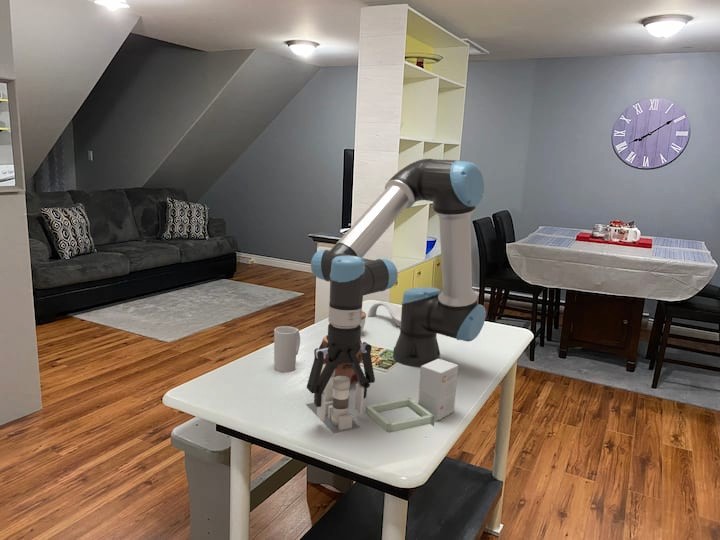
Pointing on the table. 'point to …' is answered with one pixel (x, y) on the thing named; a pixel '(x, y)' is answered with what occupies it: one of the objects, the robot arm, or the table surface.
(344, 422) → the holder
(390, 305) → the grey curved piece
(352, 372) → the decorative planter
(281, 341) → the mug
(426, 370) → the small box
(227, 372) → the table surface
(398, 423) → the parts tray
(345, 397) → the light bulb
